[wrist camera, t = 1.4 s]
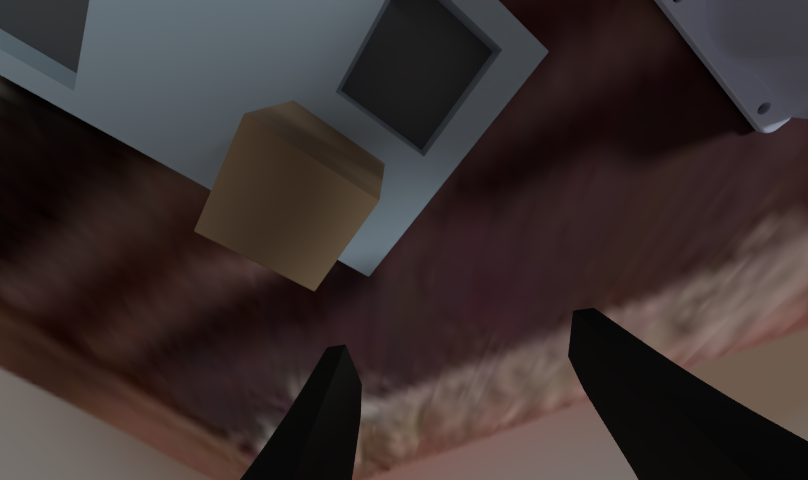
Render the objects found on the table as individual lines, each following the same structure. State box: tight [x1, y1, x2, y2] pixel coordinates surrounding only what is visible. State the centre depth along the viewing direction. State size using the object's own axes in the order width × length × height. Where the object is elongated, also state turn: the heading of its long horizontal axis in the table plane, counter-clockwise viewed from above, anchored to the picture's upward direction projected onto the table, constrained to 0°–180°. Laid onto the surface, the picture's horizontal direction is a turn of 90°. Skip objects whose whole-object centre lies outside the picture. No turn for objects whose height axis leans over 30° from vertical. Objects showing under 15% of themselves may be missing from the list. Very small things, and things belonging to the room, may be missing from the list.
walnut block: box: [194, 100, 385, 291], centre depth 12 cm, size 4×4×4 cm
